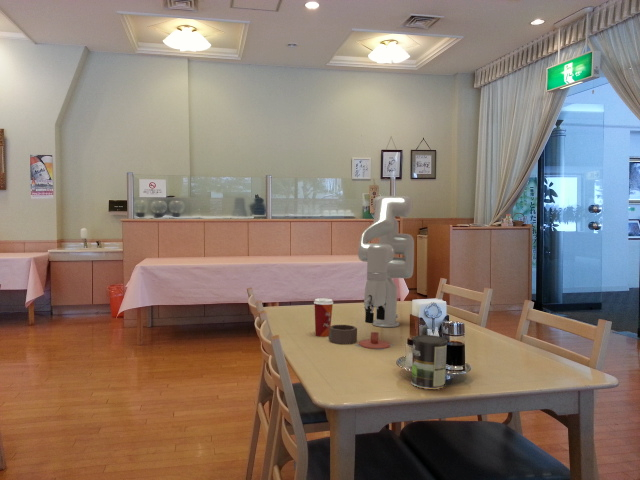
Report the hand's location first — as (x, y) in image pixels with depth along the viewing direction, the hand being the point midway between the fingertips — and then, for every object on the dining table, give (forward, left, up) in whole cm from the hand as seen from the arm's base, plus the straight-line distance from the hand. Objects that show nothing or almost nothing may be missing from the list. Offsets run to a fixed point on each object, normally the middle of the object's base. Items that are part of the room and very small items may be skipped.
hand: (375, 321), depth 209 cm
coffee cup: (-5, -26, -10) cm, 29 cm away
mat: (-1, 0, -10) cm, 10 cm away
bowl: (+1, -13, -10) cm, 17 cm away
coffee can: (+31, +34, -10) cm, 47 cm away
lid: (-1, 0, -9) cm, 9 cm away
